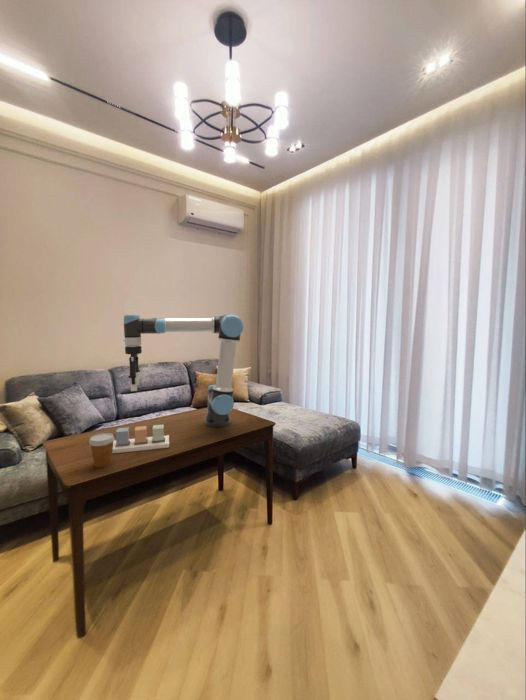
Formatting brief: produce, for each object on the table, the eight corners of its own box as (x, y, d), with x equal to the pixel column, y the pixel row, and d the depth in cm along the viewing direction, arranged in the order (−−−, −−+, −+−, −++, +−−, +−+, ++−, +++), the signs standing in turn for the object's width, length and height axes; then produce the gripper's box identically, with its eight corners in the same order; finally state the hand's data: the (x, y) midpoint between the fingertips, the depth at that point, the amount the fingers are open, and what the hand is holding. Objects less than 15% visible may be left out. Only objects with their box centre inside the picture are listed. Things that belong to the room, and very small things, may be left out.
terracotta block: (146, 437, 150) (146, 425, 149) (146, 441, 145) (145, 429, 144) (135, 438, 148) (135, 426, 147) (134, 442, 143) (134, 430, 143)
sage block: (163, 435, 152) (163, 424, 151) (163, 439, 147) (163, 427, 147) (153, 436, 151) (152, 425, 150) (152, 440, 146) (152, 428, 145)
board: (168, 438, 156) (168, 435, 156) (169, 447, 146) (169, 443, 145) (113, 444, 148) (113, 440, 148) (109, 454, 138) (109, 449, 137)
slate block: (129, 439, 147) (128, 427, 147) (128, 443, 142) (127, 431, 142) (117, 440, 146) (117, 428, 145) (116, 444, 141) (115, 432, 140)
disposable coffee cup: (96, 459, 133) (95, 432, 131) (118, 458, 133) (118, 432, 132) (85, 470, 123) (84, 441, 122) (109, 469, 124) (108, 441, 123)
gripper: (127, 343, 161) (129, 382, 163) (121, 348, 137) (123, 394, 140) (143, 343, 163) (144, 381, 165) (139, 348, 139) (141, 393, 142)
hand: (135, 387), depth 153 cm, fingers open, 13 cm apart
